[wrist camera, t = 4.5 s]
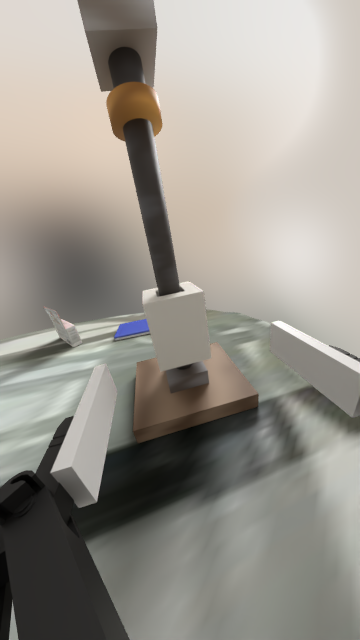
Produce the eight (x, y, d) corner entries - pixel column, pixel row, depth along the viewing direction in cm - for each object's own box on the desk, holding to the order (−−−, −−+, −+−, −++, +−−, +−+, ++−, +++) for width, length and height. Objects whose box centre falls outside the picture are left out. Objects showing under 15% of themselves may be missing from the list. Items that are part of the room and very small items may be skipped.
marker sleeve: (160, 371, 20) (142, 304, 16) (156, 345, 25) (142, 290, 22) (211, 358, 20) (203, 291, 17) (196, 335, 26) (189, 281, 23)
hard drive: (163, 314, 50) (120, 323, 49) (164, 326, 42) (113, 337, 42) (164, 319, 51) (121, 328, 50) (166, 332, 43) (115, 342, 42)
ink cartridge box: (68, 334, 51) (53, 303, 47) (83, 343, 44) (67, 307, 40) (59, 338, 50) (42, 306, 46) (73, 348, 42) (55, 311, 38)
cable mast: (138, 443, 19) (-226, -432, 5) (140, 372, 30) (35, 50, 15) (258, 406, 20) (270, -330, 6) (217, 351, 31) (188, 43, 17)
